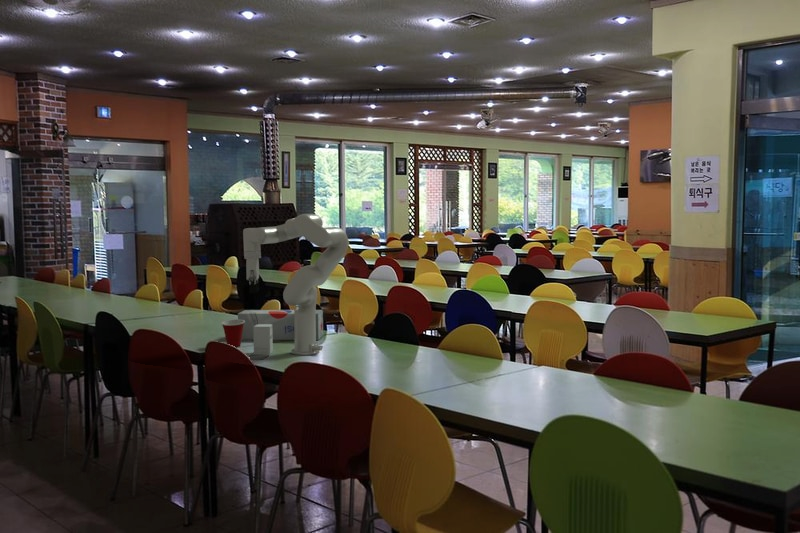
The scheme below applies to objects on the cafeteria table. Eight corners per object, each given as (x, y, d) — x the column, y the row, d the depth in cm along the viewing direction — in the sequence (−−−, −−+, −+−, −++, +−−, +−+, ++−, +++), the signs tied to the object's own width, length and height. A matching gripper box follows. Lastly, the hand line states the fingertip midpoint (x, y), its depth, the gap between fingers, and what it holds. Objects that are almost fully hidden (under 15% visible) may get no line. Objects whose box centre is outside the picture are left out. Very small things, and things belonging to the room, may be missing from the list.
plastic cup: (216, 347, 351) (216, 321, 350) (232, 343, 361) (231, 318, 360) (235, 349, 346) (234, 323, 345) (250, 345, 356) (249, 320, 355)
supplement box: (270, 355, 334) (269, 326, 333) (253, 355, 334) (252, 326, 333) (273, 351, 341) (272, 323, 340) (256, 351, 341) (256, 323, 340)
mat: (251, 355, 333) (251, 354, 333) (268, 355, 332) (268, 354, 332) (244, 359, 324) (244, 358, 324) (262, 359, 323) (262, 358, 323)
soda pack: (324, 336, 381) (323, 309, 380) (319, 341, 368) (318, 313, 367) (244, 335, 384) (244, 308, 383) (237, 340, 372) (236, 312, 370)
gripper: (246, 254, 356) (248, 290, 357) (242, 256, 338) (243, 294, 339) (262, 253, 356) (264, 290, 357) (259, 255, 339) (260, 293, 340)
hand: (254, 292), depth 348 cm, fingers open, 9 cm apart
